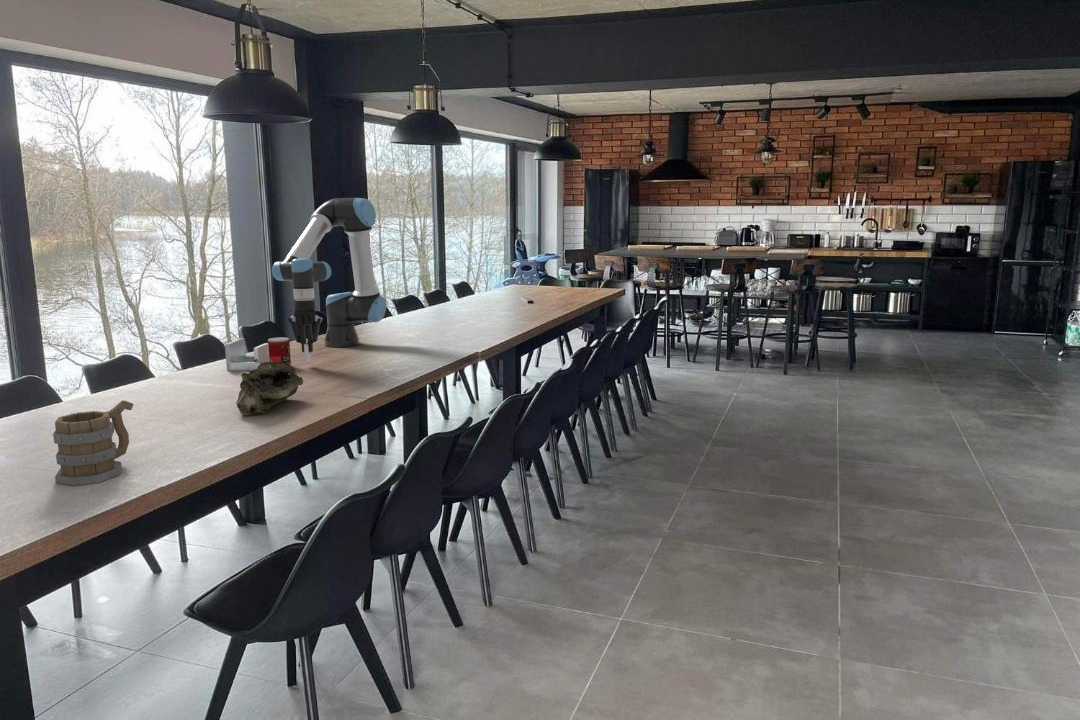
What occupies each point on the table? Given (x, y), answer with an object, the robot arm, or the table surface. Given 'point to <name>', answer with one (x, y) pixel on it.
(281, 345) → the canned food
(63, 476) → the tankard
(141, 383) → the table surface
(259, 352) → the white flat block
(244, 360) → the frame
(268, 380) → the hollow geode rock
